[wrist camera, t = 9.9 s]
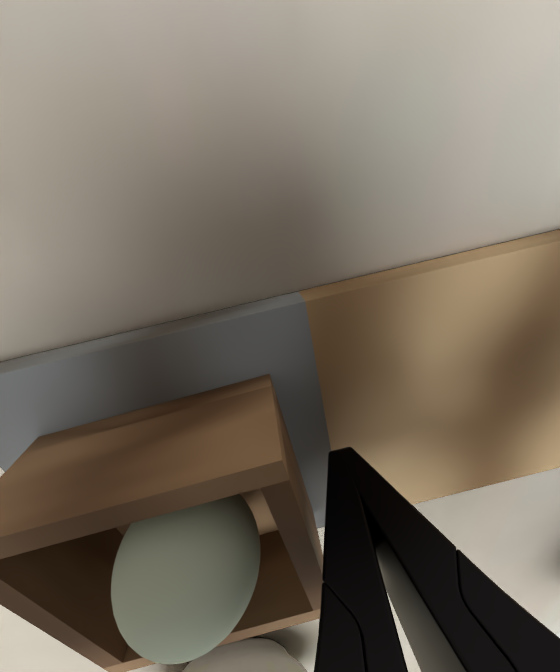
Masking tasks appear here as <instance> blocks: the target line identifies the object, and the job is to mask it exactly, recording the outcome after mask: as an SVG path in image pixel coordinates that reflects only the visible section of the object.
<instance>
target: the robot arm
mask: <svg viewBox="0 0 560 672" xmlns="http://www.w3.org/2000/svg"><path fill="white" fill-rule="evenodd" d="M322 581H323V583H322V590H321V608H320V622H319V635H318V643H317V651H316V659H315V667H314V672H408V670H407V666H406V662H405V659H404V655H403V651H402V648H401V644H400V640H399V637H398V633H397V629H396V625H395V622H394V618H393V614H392V611H391V607H390V603H389V599H388V596H387V593H388V595H389V597H390V600H391V602H392V604H393V607H394V609H395V611H396V614H397V616H398V618H399V621H400V623H401V625H402V628H403V630H404V632H405V635H406V637H407V639H408V641H409V644H410V646H411V648H412V651H413V653H414V655H415V658H416V660H417V662H418V665H419V667H420V669H421V672H560V638H559V637H557V636H556V635H555V634H554V633H553V632H551V631H550V630H549V629H548V628H547V627H545V626H544V625H543V624H542V623H541V622H539V621H538V620H537V619H536V618H534V617H533V616H532V615H531V614H530V613H529V612H527V611H526V610H525V609H524V608H523V607H522V606H520V605H519V604H518V603H517V602H516V601H515V600H513V599H512V598H511V597H510V596H509V595H508V594H506V593H505V592H504V591H503V590H502V589H501V588H499V587H498V586H497V585H496V584H495V583H494V582H493V581H492V580H491V579H490V578H489V577H488V576H486V575H485V574H484V573H483V572H482V571H481V570H480V569H479V568H478V567H477V566H476V565H475V564H473V563H472V562H471V561H470V560H469V559H468V558H467V557H466V556H465V555H464V554H463V553H462V552H461V551H460V550H457V551H456V547H455V546H454V545H453V544H452V543H451V542H450V541H449V540H448V539H447V538H446V537H445V536H444V535H443V534H442V533H441V532H440V531H439V530H438V529H437V528H436V527H435V526H434V525H433V524H432V523H430V522H429V521H428V520H427V519H426V518H425V517H424V516H423V515H422V514H421V513H420V512H419V511H418V510H417V509H416V508H415V507H414V506H413V505H412V504H411V503H410V502H409V501H408V500H406V499H405V498H404V497H403V496H402V495H401V494H400V493H399V492H398V491H397V490H396V489H395V488H394V487H393V486H392V485H391V484H390V483H389V482H388V481H387V480H386V479H385V478H383V477H382V476H381V475H380V474H379V473H378V472H377V471H376V470H375V469H374V468H373V467H372V466H371V465H370V464H369V463H368V462H367V461H366V460H365V459H364V458H363V457H362V456H361V455H359V454H358V453H357V452H356V451H355V450H354V449H353V448H352V447H345V448H341V449H337V450H333V451H330V452H329V453H328V471H327V492H326V512H325V532H324V553H323V573H322ZM386 590H387V592H386Z"/></svg>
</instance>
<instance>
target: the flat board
mask: <svg viewBox="0 0 560 672" xmlns="http://www.w3.org/2000/svg"><path fill="white" fill-rule="evenodd" d="M267 374H270V376H271V380H272V383H273V386H274V389H275V392H276V396H277V399H278V402H279V405H280V408H281V411H282V415H283V418H284V421H285V424H286V427H287V431H288V434H289V437H290V440H291V443H292V446H293V450H294V453H295V456H296V459H297V462H298V466H299V469H300V472H301V475H302V478H303V481H304V485H305V488H306V491H307V494H308V497H309V501H310V504H311V507H312V510H313V513H314V518H315V522H316V527H317V528H321V527H325V512H326V492H327V471H328V453H329V452H330V451H333V450H337V449H341V448H345V447H352V448H353V449H354V450H355V451H356V452H357V453H358V454H359V455H361V456H362V457H363V458H364V459H365V460H366V461H367V462H368V463H369V464H370V465H371V466H372V467H373V468H374V469H375V470H376V471H377V472H378V473H379V474H380V475H381V476H382V477H383V478H385V479H386V480H387V481H388V482H389V483H390V484H391V485H392V486H393V487H394V488H395V489H396V490H397V491H398V492H399V493H400V494H401V495H402V496H403V497H404V498H405V499H406V500H408V501H409V502H410V503H411V504H416V503H420V502H424V501H428V500H432V499H436V498H440V497H444V496H448V495H452V494H456V493H460V492H464V491H468V490H472V489H476V488H479V487H483V486H487V485H491V484H495V483H499V482H503V481H507V480H511V479H515V478H519V477H523V476H527V475H531V474H535V473H539V472H543V471H547V470H551V469H555V468H559V467H560V229H559V230H555V231H550V232H546V233H542V234H538V235H534V236H529V237H525V238H521V239H517V240H512V241H508V242H504V243H500V244H496V245H491V246H487V247H483V248H479V249H475V250H470V251H466V252H462V253H458V254H454V255H449V256H445V257H441V258H437V259H433V260H428V261H424V262H420V263H416V264H411V265H407V266H403V267H399V268H395V269H390V270H386V271H382V272H378V273H374V274H369V275H365V276H361V277H357V278H353V279H348V280H344V281H340V282H336V283H332V284H327V285H323V286H319V287H315V288H311V289H306V290H302V291H298V292H294V293H289V294H285V295H281V296H277V297H273V298H268V299H264V300H260V301H256V302H252V303H247V304H243V305H239V306H235V307H231V308H226V309H222V310H218V311H214V312H210V313H205V314H201V315H197V316H193V317H188V318H184V319H180V320H176V321H172V322H167V323H163V324H159V325H155V326H151V327H146V328H142V329H138V330H134V331H130V332H125V333H121V334H117V335H113V336H109V337H104V338H100V339H96V340H92V341H87V342H83V343H79V344H75V345H71V346H66V347H62V348H58V349H54V350H50V351H45V352H41V353H37V354H33V355H29V356H24V357H20V358H16V359H12V360H8V361H3V362H0V467H1V468H2V469H3V470H4V471H5V472H6V471H7V470H8V469H9V467H10V466H11V465H12V464H13V463H14V462H15V461H16V460H17V459H18V458H19V457H20V456H21V455H22V454H23V452H24V451H25V450H26V449H27V448H28V447H29V446H30V445H31V444H32V443H33V442H34V441H35V440H36V439H37V438H38V437H40V436H43V435H47V434H51V433H54V432H58V431H62V430H65V429H69V428H73V427H76V426H80V425H84V424H87V423H91V422H95V421H98V420H102V419H106V418H109V417H113V416H117V415H120V414H124V413H128V412H131V411H135V410H139V409H142V408H146V407H150V406H153V405H157V404H161V403H164V402H168V401H172V400H175V399H179V398H182V397H186V396H190V395H193V394H197V393H201V392H204V391H208V390H212V389H215V388H219V387H223V386H226V385H230V384H234V383H237V382H241V381H245V380H248V379H252V378H256V377H259V376H263V375H267Z"/></svg>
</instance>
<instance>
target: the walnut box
mask: <svg viewBox="0 0 560 672" xmlns="http://www.w3.org/2000/svg"><path fill="white" fill-rule="evenodd" d="M236 494H240V495H241V496H242V497H243V498H244V499H245V501H246V502H247V504H248V505H249V507H250V509H251V511H252V513H253V515H254V518H255V520H256V523H257V528H258V532H259V537H260V553H261V554H260V566H259V573H258V578H257V582H256V586H255V589H254V592H253V595H252V597H251V599H250V602H249V604H248V606H247V608H246V610H245V612H244V614H243V615H242V617H241V619H240V620H239V622H238V623H237V625H236V626H235V627H234V629H233V630H232V631H231V632H230V634H229V635H228V636H227V637H226V638H225V639H224V640H223V641H222V642H221V643H219V644H218V645H217V646H221V645H224V644H228V643H232V642H235V641H239V640H243V639H246V638H250V637H254V636H257V635H261V634H264V633H268V632H272V631H275V630H279V629H283V628H286V627H290V626H294V625H297V624H301V623H305V622H308V621H312V620H315V619H319V618H320V608H321V590H322V583H323V581H322V573H323V553H322V549H321V544H320V540H319V536H318V531H317V527H316V522H315V518H314V513H313V510H312V507H311V504H310V501H309V497H308V494H307V491H306V488H305V485H304V481H303V478H302V475H301V472H300V469H299V466H298V462H297V459H296V456H295V453H294V450H293V446H292V443H291V440H290V437H289V434H288V431H287V427H286V424H285V421H284V418H283V415H282V411H281V408H280V405H279V402H278V399H277V396H276V392H275V389H274V386H273V383H272V380H271V376H270V374H267V375H263V376H259V377H256V378H252V379H248V380H245V381H241V382H237V383H234V384H230V385H226V386H223V387H219V388H215V389H212V390H208V391H204V392H201V393H197V394H193V395H190V396H186V397H182V398H179V399H175V400H172V401H168V402H164V403H161V404H157V405H153V406H150V407H146V408H142V409H139V410H135V411H131V412H128V413H124V414H120V415H117V416H113V417H109V418H106V419H102V420H98V421H95V422H91V423H87V424H84V425H80V426H76V427H73V428H69V429H65V430H62V431H58V432H54V433H51V434H47V435H43V436H40V437H38V438H37V439H36V440H35V441H34V442H33V443H32V444H31V445H30V446H29V447H28V448H27V449H26V450H25V451H24V452H23V454H22V455H21V456H20V457H19V458H18V459H17V460H16V461H15V462H14V463H13V464H12V465H11V466H10V467H9V469H8V470H7V471H6V472H5V473H4V474H3V475H2V476H1V477H0V604H1V605H2V606H4V607H5V608H7V609H9V610H10V611H12V612H13V613H15V614H17V615H18V616H20V617H21V618H23V619H25V620H26V621H28V622H30V623H31V624H33V625H34V626H36V627H38V628H39V629H41V630H42V631H44V632H46V633H47V634H49V635H50V636H52V637H54V638H55V639H57V640H58V641H60V642H62V643H63V644H65V645H66V646H68V647H70V648H71V649H73V650H74V651H76V652H78V653H79V654H81V655H82V656H84V657H86V658H87V659H89V660H91V661H92V662H94V663H95V664H97V665H99V666H100V667H102V668H103V669H105V670H107V671H108V672H126V671H130V670H133V669H137V668H141V667H144V666H148V665H151V664H155V662H152V661H150V660H148V659H146V658H143V657H141V656H140V655H139V654H138V653H136V652H135V651H134V650H133V649H132V648H131V647H130V646H129V645H128V644H127V642H126V641H125V639H124V638H123V636H122V635H121V633H120V631H119V629H118V626H117V623H116V620H115V618H114V615H113V608H112V601H111V580H112V572H113V567H114V563H115V559H116V555H117V552H118V549H119V547H120V544H121V541H122V539H123V537H124V535H125V533H126V531H127V530H128V528H129V526H130V524H131V523H134V522H138V521H141V520H145V519H149V518H152V517H156V516H160V515H163V514H167V513H171V512H174V511H178V510H182V509H185V508H189V507H193V506H196V505H200V504H204V503H207V502H211V501H215V500H218V499H222V498H225V497H229V496H233V495H236ZM217 646H216V647H217Z"/></svg>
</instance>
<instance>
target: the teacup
mask: <svg viewBox="0 0 560 672" xmlns="http://www.w3.org/2000/svg"><path fill="white" fill-rule="evenodd" d="M182 672H307V670H306V669H305V668H304V667H303V665H302V664H300V663H299V662H298V661H297V660H296V659H295V658H293V657H292V656H290V655H289V654H288V653H287V651H286V649H285V648H284V647H283V646H282V645H280V644H279V643H277V642H275V641H273V640H270V639H265V638H249V639H243V640H239V641H235V642H232V643H228V644H224V645H221V646H217V647H215V648H213V649H212V650H211V651H209V652H208V653H206V654H204V655H202V656H200V657H198V658H196V659H194V660H192V661H191V662H190V663H189V664H188V665H187V666H186V667H185V669H184V670H183V671H182Z"/></svg>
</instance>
